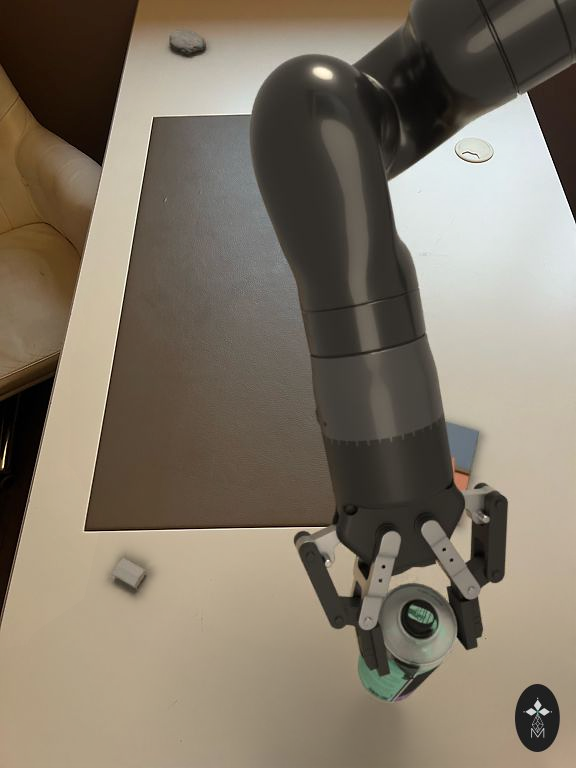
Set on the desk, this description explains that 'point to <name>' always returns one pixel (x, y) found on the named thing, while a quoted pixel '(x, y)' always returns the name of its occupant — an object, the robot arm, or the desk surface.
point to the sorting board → (462, 451)
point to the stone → (186, 41)
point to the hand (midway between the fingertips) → (424, 654)
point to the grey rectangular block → (129, 572)
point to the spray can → (410, 640)
